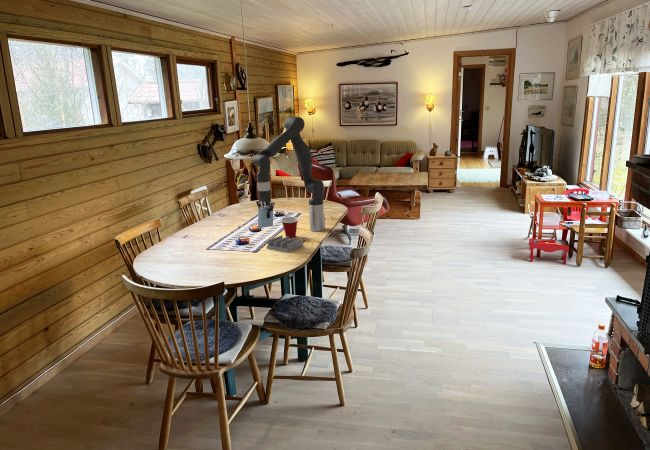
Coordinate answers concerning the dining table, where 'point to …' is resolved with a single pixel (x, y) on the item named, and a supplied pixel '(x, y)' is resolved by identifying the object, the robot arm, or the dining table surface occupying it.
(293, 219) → the plastic cup
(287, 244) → the dish rack
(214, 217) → the dining table surface
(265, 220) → the rectangular block
